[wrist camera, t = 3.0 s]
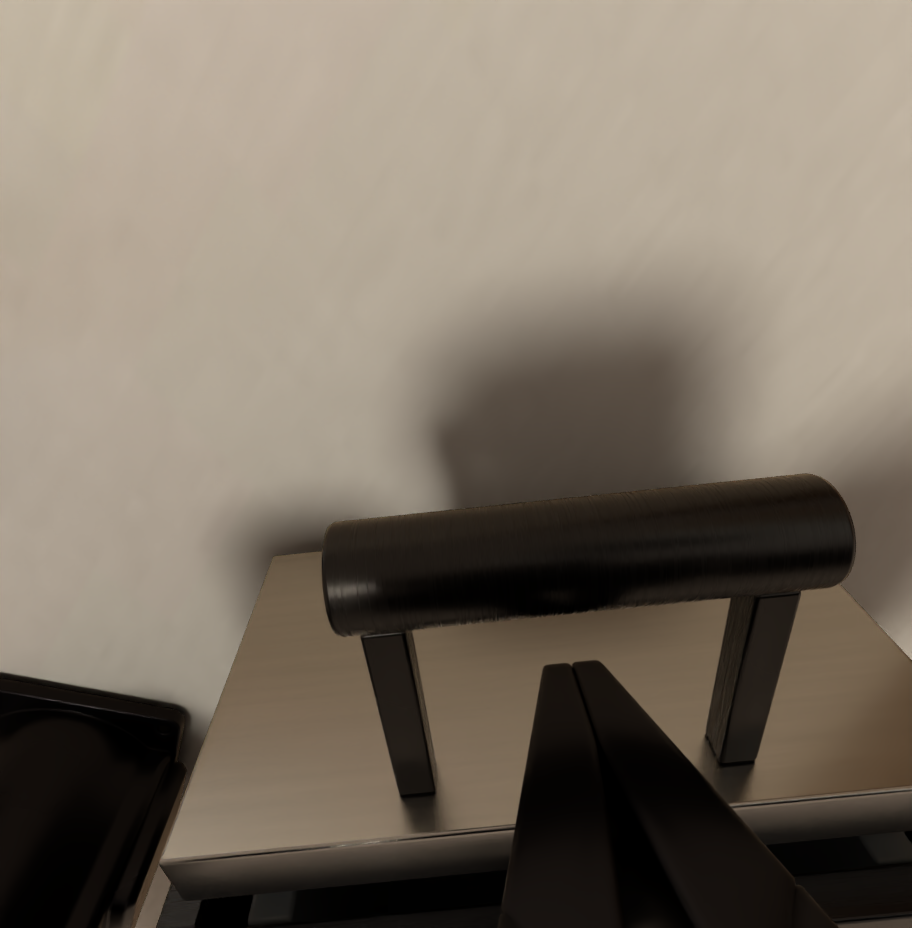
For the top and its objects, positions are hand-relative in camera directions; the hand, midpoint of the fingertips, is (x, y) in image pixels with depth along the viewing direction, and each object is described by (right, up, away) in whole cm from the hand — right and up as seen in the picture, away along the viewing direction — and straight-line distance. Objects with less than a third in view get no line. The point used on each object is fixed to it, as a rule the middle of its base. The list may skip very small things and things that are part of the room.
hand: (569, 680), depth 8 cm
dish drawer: (0, -2, +8) cm, 8 cm away
